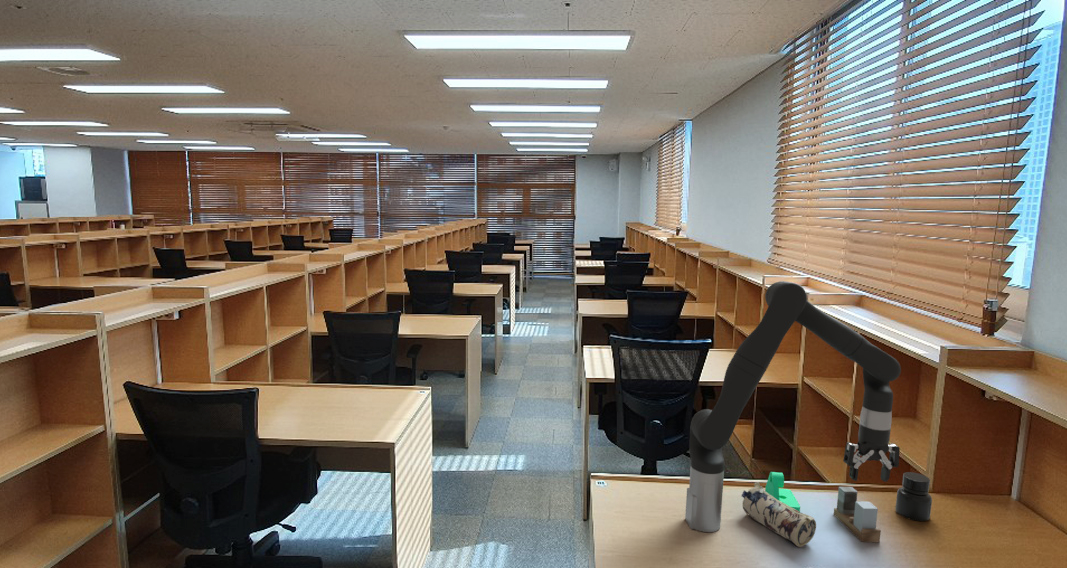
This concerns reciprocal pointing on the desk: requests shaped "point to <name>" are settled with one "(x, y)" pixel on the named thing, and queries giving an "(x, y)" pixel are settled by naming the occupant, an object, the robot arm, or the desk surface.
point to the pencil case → (778, 516)
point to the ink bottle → (914, 497)
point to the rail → (846, 515)
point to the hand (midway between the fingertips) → (868, 480)
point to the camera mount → (781, 490)
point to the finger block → (865, 515)
